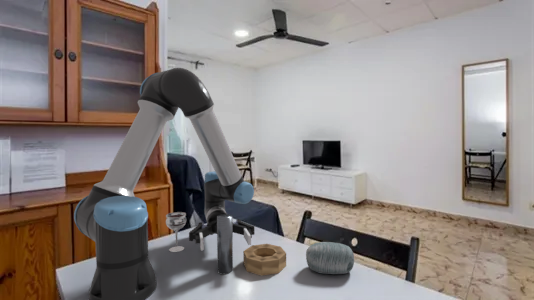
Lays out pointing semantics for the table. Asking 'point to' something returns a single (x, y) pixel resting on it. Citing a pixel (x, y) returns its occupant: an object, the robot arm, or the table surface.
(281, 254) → the brown thick faceted ring
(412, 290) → the table surface
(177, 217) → the wineglass
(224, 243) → the rod
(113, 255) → the robot arm
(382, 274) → the table surface
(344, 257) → the grey yarn skein
